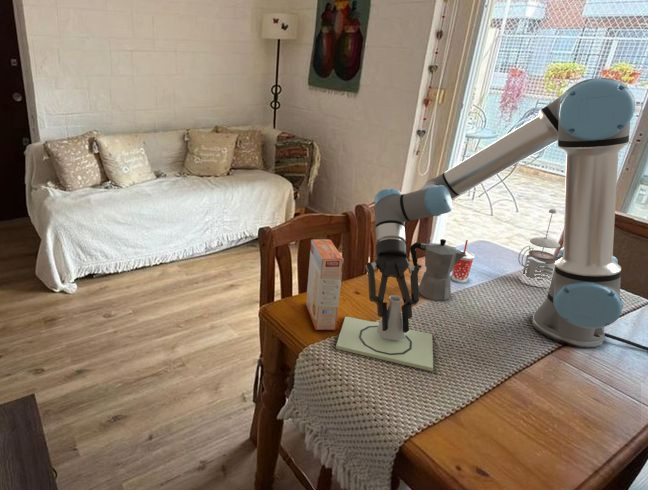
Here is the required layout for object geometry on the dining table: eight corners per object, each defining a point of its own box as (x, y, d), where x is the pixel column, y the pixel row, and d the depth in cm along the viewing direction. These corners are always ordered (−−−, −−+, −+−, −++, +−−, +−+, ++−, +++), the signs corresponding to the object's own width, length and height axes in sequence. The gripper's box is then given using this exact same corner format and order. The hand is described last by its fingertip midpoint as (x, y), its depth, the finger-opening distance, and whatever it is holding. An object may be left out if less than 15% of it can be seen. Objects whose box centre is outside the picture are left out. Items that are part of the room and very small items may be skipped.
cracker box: (337, 331, 116) (344, 258, 109) (314, 331, 116) (320, 258, 109) (325, 304, 129) (331, 238, 122) (305, 304, 129) (310, 238, 122)
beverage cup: (450, 273, 150) (458, 235, 145) (471, 278, 146) (478, 239, 142) (447, 280, 145) (454, 240, 140) (468, 285, 141) (476, 245, 137)
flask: (401, 326, 115) (406, 292, 112) (409, 342, 108) (415, 306, 105) (373, 324, 116) (377, 290, 113) (379, 340, 109) (384, 305, 106)
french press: (560, 288, 140) (581, 214, 132) (523, 288, 140) (542, 213, 132) (540, 275, 149) (558, 204, 141) (505, 274, 149) (521, 204, 141)
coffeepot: (458, 292, 137) (469, 238, 131) (456, 305, 129) (467, 249, 123) (406, 280, 144) (414, 229, 138) (401, 292, 136) (409, 238, 131)
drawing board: (431, 337, 113) (432, 333, 113) (432, 371, 100) (433, 367, 100) (345, 319, 122) (345, 315, 121) (335, 348, 108) (336, 345, 108)
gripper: (420, 250, 120) (428, 336, 110) (355, 247, 122) (357, 330, 112) (428, 239, 113) (437, 330, 103) (359, 235, 116) (361, 323, 106)
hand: (395, 330), depth 108 cm, fingers closed on flask, 4 cm apart
